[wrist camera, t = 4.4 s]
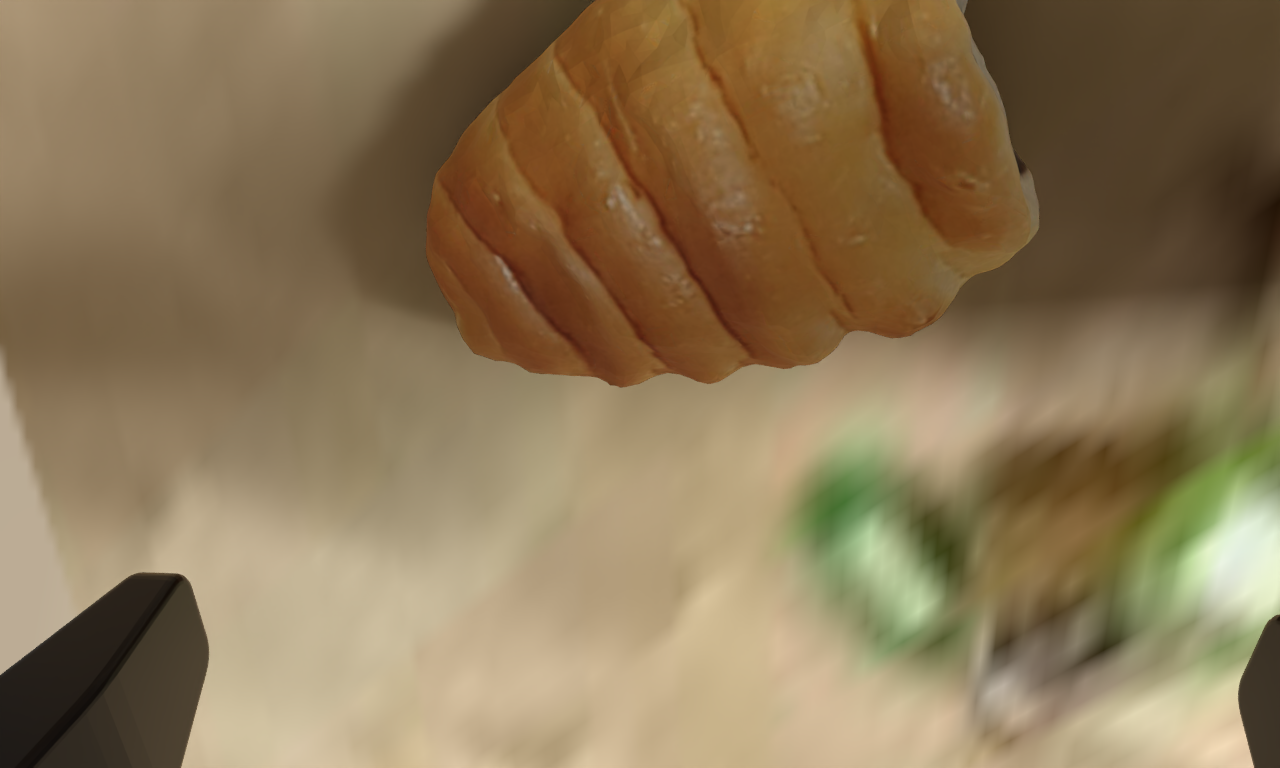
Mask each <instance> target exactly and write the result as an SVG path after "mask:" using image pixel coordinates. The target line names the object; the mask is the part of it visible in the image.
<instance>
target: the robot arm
mask: <svg viewBox="0 0 1280 768" xmlns="http://www.w3.org/2000/svg"><path fill="white" fill-rule="evenodd" d="M208 661H209V645H208V639H207V636H206V632H205V629H204V626H203V622H202V619H201V616H200V612H199V609H198V606H197V602H196V599H195V596H194V592H193V589H192V587H191V584H190V582H189V581H188V580H187V578H186V577H184V576H183V575H179V574H173V573H144V572H142V573H136V574H134V575H131V576H129V577H128V578H126V579H125V580H123V581H122V582H121V583H119V584H118V585H117V586H116V587H114V588H113V589H112V590H110V591H109V592H108V593H106V594H105V595H104V596H103V597H101V598H100V599H99V600H97V601H96V602H95V603H93V604H92V605H91V606H90V607H88V608H87V609H86V610H84V611H83V612H82V613H80V614H79V615H78V616H77V617H75V618H74V619H73V620H71V621H70V622H69V623H67V624H66V625H65V626H64V627H62V628H61V629H60V630H58V631H57V632H56V633H55V634H53V635H52V636H51V637H49V638H48V639H47V640H45V641H44V642H43V643H41V644H40V645H39V646H38V647H36V648H35V649H34V650H33V651H31V652H30V653H28V654H27V655H26V656H24V657H23V658H22V659H21V660H19V661H18V662H17V663H15V664H14V665H13V666H11V667H10V668H9V669H8V670H6V671H5V672H4V673H2V674H1V675H0V768H181V766H182V762H183V759H184V755H185V751H186V747H187V743H188V740H189V736H190V732H191V728H192V725H193V721H194V717H195V713H196V710H197V706H198V702H199V698H200V695H201V691H202V687H203V683H204V680H205V676H206V672H207V668H208ZM1238 701H1239V709H1240V714H1241V718H1242V722H1243V726H1244V729H1245V733H1246V737H1247V741H1248V745H1249V749H1250V753H1251V757H1252V761H1253V765H1254V768H1280V615H1276V616H1274V617H1273V618H1272V619H1270V620H1269V621H1268V622H1267V624H1266V626H1265V628H1264V630H1263V632H1262V634H1261V636H1260V638H1259V641H1258V643H1257V645H1256V647H1255V649H1254V651H1253V654H1252V656H1251V658H1250V660H1249V662H1248V664H1247V667H1246V669H1245V671H1244V673H1243V675H1242V678H1241V681H1240V685H1239V691H1238Z"/></svg>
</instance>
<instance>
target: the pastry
mask: <svg viewBox="0 0 1280 768" xmlns="http://www.w3.org/2000/svg"><path fill="white" fill-rule="evenodd" d="M967 2H968V0H596V1H594V2H593V3H592V4H591V5H589V6H588V7H587V8H586V9H585V10H584V11H583V12H582V13H581V14H580V15H579V16H578V17H577V19H576V20H575V21H574V22H573V23H572V24H571V25H570V27H569V28H568V29H567V30H565V31H564V32H563V33H562V34H561V35H560V36H559V37H558V38H557V39H556V40H555V41H554V42H553V43H552V44H551V45H550V46H549V47H548V48H547V49H546V50H545V51H544V52H543V53H542V54H541V55H540V56H539V57H538V58H537V59H536V60H535V61H534V62H533V63H532V64H530V65H529V66H528V67H527V68H526V69H525V70H524V71H523V72H522V73H520V74H519V75H518V76H517V77H516V78H515V79H514V80H513V81H512V83H511V84H510V85H509V87H507V88H506V89H505V90H504V91H503V92H502V93H500V94H499V95H498V96H497V97H496V98H494V99H493V100H492V101H491V102H490V103H489V104H488V106H487V107H486V108H485V109H484V110H483V111H482V112H481V113H480V115H479V116H478V117H477V118H476V119H475V120H474V121H473V122H472V123H471V124H470V125H469V126H468V127H467V129H466V130H465V131H464V133H463V134H462V135H461V137H460V139H459V141H458V143H457V145H456V147H455V149H454V150H453V152H452V154H451V156H450V157H449V158H448V159H447V161H446V162H445V163H444V164H443V165H442V167H441V168H440V169H439V170H438V172H437V173H436V176H435V180H434V184H433V189H432V196H431V202H430V206H429V209H428V213H427V228H426V232H427V239H426V257H427V260H428V263H429V265H430V267H431V270H432V272H433V274H434V277H435V279H436V281H437V283H438V285H439V287H440V289H441V291H442V293H443V295H444V297H445V298H446V300H447V302H448V303H449V305H450V306H451V308H452V310H453V311H454V313H455V318H456V323H457V327H458V329H459V331H460V334H461V336H462V338H463V340H464V341H465V342H466V344H467V345H468V346H469V348H470V349H471V350H472V351H473V353H474V354H478V355H481V356H484V357H487V358H490V359H492V360H495V361H506V362H511V363H515V364H517V365H519V366H521V367H522V368H524V369H525V370H527V371H529V372H532V373H539V374H558V375H569V376H591V377H598V378H600V379H602V380H604V381H606V382H607V383H608V384H609V385H616V386H618V387H627V386H631V385H635V384H640V383H642V382H644V381H646V380H648V379H650V378H652V377H654V376H657V375H660V374H664V373H674V374H681V375H683V376H686V377H689V378H691V379H694V380H696V381H698V382H702V383H706V384H711V383H715V382H719V381H721V380H722V379H724V378H726V377H727V376H729V375H730V374H732V373H734V372H735V371H737V370H738V369H740V368H742V367H745V366H748V365H751V364H759V365H765V366H771V367H777V368H781V369H788V368H792V367H794V366H797V365H810V364H815V363H818V362H819V361H821V360H822V359H824V358H825V357H826V356H828V355H829V354H830V353H831V352H832V351H833V350H834V349H835V348H837V346H838V345H839V343H840V342H841V340H842V339H843V337H844V336H845V335H846V334H847V333H849V332H852V331H857V330H859V331H868V332H872V333H875V334H878V335H882V336H885V337H889V338H901V337H906V336H911V335H912V334H913V333H915V332H917V331H919V330H921V329H923V328H925V327H927V326H929V325H931V324H932V323H934V322H935V321H936V320H938V319H939V318H940V317H941V316H942V315H943V313H944V312H945V311H946V309H947V308H948V307H949V305H950V304H951V302H952V301H953V300H954V298H955V297H956V295H957V293H958V290H959V289H960V288H961V287H962V286H963V285H964V284H965V283H966V282H967V281H968V280H969V279H970V278H971V277H973V276H974V275H976V274H979V273H983V272H987V271H990V270H993V269H996V268H999V267H1000V266H1001V265H1003V264H1004V263H1006V262H1007V261H1008V260H1010V259H1011V258H1012V257H1013V256H1014V255H1015V254H1016V253H1017V252H1018V251H1019V250H1020V249H1022V248H1023V247H1024V246H1025V245H1027V244H1028V243H1029V242H1030V240H1031V239H1032V238H1033V237H1034V235H1035V234H1036V232H1037V231H1038V229H1039V210H1040V209H1039V204H1038V199H1037V196H1036V192H1035V187H1034V181H1033V177H1032V174H1031V172H1030V171H1029V169H1028V168H1027V167H1026V165H1025V164H1024V163H1023V161H1022V160H1021V159H1020V157H1019V156H1018V155H1017V153H1016V152H1015V150H1014V149H1013V148H1012V144H1011V141H1010V136H1009V130H1008V124H1007V117H1006V112H1005V108H1004V105H1003V102H1002V100H1001V97H1000V94H999V91H998V88H997V86H996V84H995V82H994V80H993V79H992V77H991V76H990V74H989V72H988V70H987V69H986V65H985V61H984V57H983V56H982V55H981V53H980V52H979V50H978V48H977V46H976V44H975V42H974V40H973V38H972V37H971V31H970V28H969V26H968V23H967V21H966V19H965V17H964V12H965V9H966V5H967Z"/></svg>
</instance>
